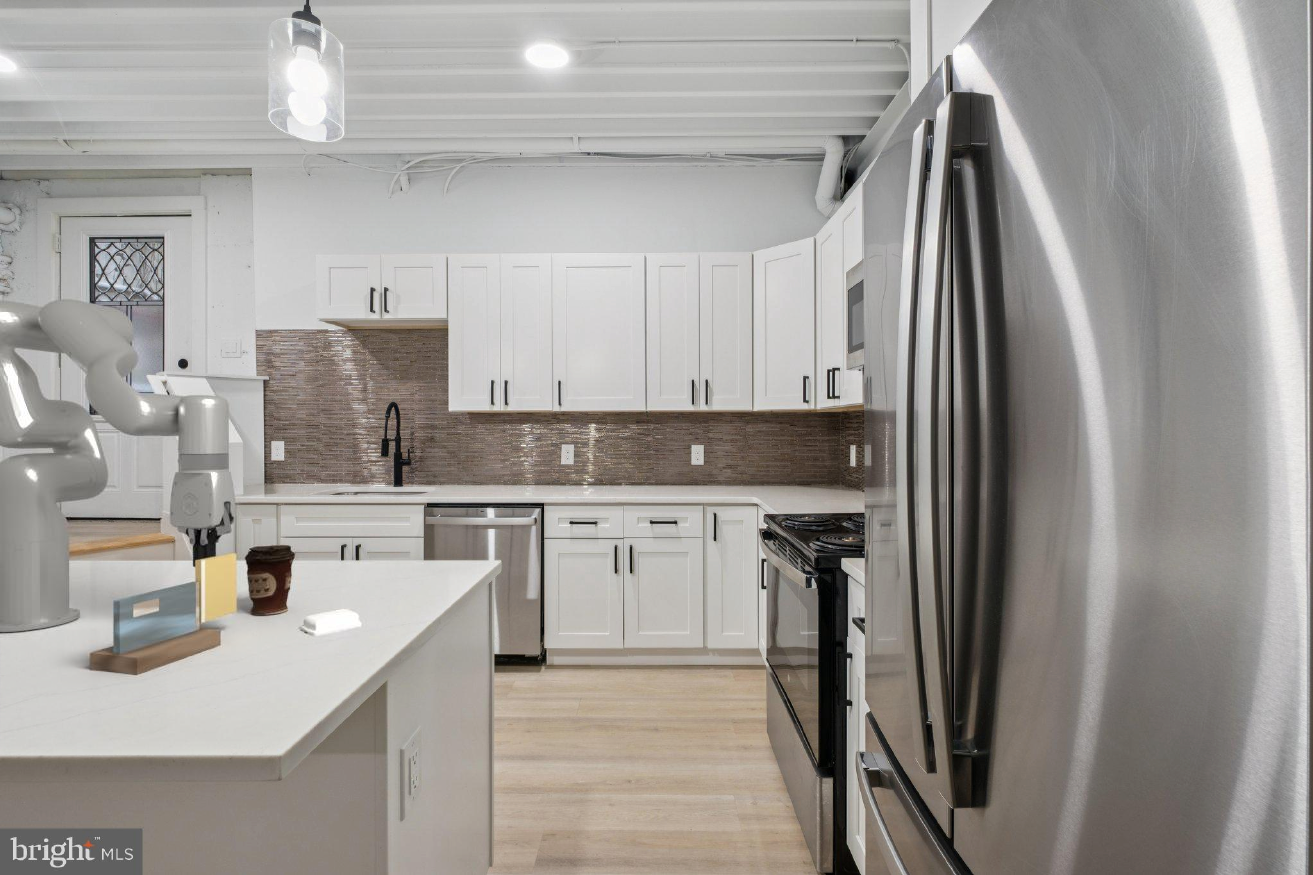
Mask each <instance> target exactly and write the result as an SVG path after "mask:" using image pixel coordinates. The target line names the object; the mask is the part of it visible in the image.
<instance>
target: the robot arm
mask: <svg viewBox="0 0 1313 875" xmlns="http://www.w3.org/2000/svg"><path fill="white" fill-rule="evenodd" d="M134 337H135V327H134V324H133V323H132V321H131V319H130V318H129V317H128V316H127V314H125V313H124V312H123V311H121V310H119V309H118V308H114V307H111V306H106V305H103V304H102V305H101V304H97V303H91V302H87V301H82V300H76V299H67V298H65V299H64V298H63V299H56V300H54V301H52V300H51V301H50V302H47V303H46V304H44V305H43V306H38V305H33V304H29V303H28V304H27V303H24V302H23V303H22V302H17V301H12V300H5V299H0V446H1V447H3V448H6V449H7V448H8V449H18V450H20V449H21V450H22V449H27V450H29V449H52V452H42V453H41V452H35V453H34V452H33V453H21V454H17V455H12V456H10V457H7V458H5V459H2V460H1V461H0V633H13V632H24V631H32V630H39V629H40V630H41V629H45V628H51V627H56V626H59V625H64V624H67V623H71V622H72V621H73V622H74V621H75V620H77V619H78V618H80V617H81V610H80V609H77V608H74V607H70V529H69V523H68V520H67V518H66V516H65V514H64V513H63V511H62V510H61V509H60V507H59V506H58V504H57V503H67V502H74V501H75V502H76V501H82V500H88V499H92V498H95V497H98V496H99V495H100V494H102V492H104V491H105V489H106V487H107V485H108V481H109V470H108V465H107V460H106V457H105V455H104V451H103V447H102V446H103V445H102V442H101V440H100V436H99V433H98V429H97V426H96V424H95V421H94V418H93V416H92V415H91V414H90V413H89V412H90V411H88V410H87V409H86V408H85V407H83V405H81V404H78V403H76V402H75V401H68V400H62V399H48V398H46V397H45V396H44V394H43V393H42V389H41V387H40V383H39V379H38V376H37V374H36V372H35V371H34V369H33V368H32V367H31V366H30V364H29V363H28V362H27V361H26V360H25V359H24V358H22V356H20V355H19V354H18V353H17V352H16V350H15V349H23V350H31V351H38V352H39V351H40V352H46V353H53V354H54V353H56V354H58V353H59V354H66V356H67V357H68V358H69V359H70V360H72V362H73V363H75V364H76V365H77V366H78V367H79V369H81V370H82V371H83V372H84V374H85V379H84V389H85V394H86V398H87V401H88V403H89V404H90V406H91V407H92V409H94V410H95V412H96V413H97V414H99V416H100V417H102V418H103V419H104V421H106V423H107V424H109V425H110V426H111V427H113V428H114V429H115V430H117V431H119V432H121V433H123V434H125V435H127V436H135V437H136V436H137V437H158V436H159V437H177V438H178V439H177V442H178V447H177V450H178V451H177V452H178V456H177V457H178V459H177V463H178V468H177V469H178V471H177V472H175V474H174V477H173V482H172V485H171V493H170V502H169V503H170V505H169V523H170V525H171V526H172V527H174V528H177V531H178V532H179V533H181V534H184V535H186V536H187V537H188V538H189V540H188V542H189V544H190V545H191V546H192V567H193V568H195V560H200V559H205V558H210V557H215V556H217V543H219V542H220V538H221V537H222V536H224V535H227V534H230V533H232V525H233V524H234V522H235V520H236V518H235V517H236V500H235V499H236V498H235V489H234V488H235V487H234V482H233V476H232V472H231V471H230V435H229V434H230V415H229V414H230V412H229V411H230V410H229V409H230V408H229V405H230V404H229V402H228V400H227V398H225V397H223V396H219V395H218V396H217V395H205V394H204V395H203V394H198V395H197V394H191V395H190V394H189V395H173V394H163V393H161V394H160V393H147V392H139V391H138V390H136V389H135V388H134V387H133V386H132V385H130V384H129V383H128V382H127V381H126V380H125V377H127V376H128V375H129V374H130V373H132V371H134V369H135V368H136V367H137V364H138V362H139V355H138V352H137V350H136V349H135V348H134V347H133V346H132V345H131V343H132V342H133V340H134V339H135V338H134Z"/></svg>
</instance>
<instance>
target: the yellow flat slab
mask: <svg viewBox="0 0 1313 875" xmlns="http://www.w3.org/2000/svg"><path fill="white" fill-rule="evenodd" d="M237 564H238V563H237V553H234V552H232V553H231V552H230V553H226V554H221V555H216V556H215V557H210V558H205V559H200V560H195V567H194V570H195V571H194V573H195V574H194V575H195V580H194V582H199V624H203V623H205V622H208V621H211V620H216V619H217V618H222V617H225V616H228V615H231V614H234V613H237V610H238V608H237V599H238V598H237V596H238V595H237V586H238V584H237V582H238V581H237V574H238V572H237Z"/></svg>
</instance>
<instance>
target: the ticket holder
mask: <svg viewBox="0 0 1313 875" xmlns="http://www.w3.org/2000/svg"><path fill="white" fill-rule="evenodd" d="M112 606H113V608H112V609H113V610H112V612H113V614H112V616H113V619H112V620H113V621H112V622H113V623H112V624H113V625H112V626H113V634H112V635H113V645H112V646H108V647H104V648H102V649H98V650H95V651H91V652H89V671H90V670H92V671H101V672H109V673H118V674H126V675H134V676H135V675H140V674H143V673H146V672H150V671H151V670H155V669H157V668H160V667H164V666H166V665H169V664H172V663H174V662H177V661H180V660H183V659H186V658H188V657H191V656H195V655H197V654H200V653H202V652H206V651H207V650H210V649H213V648H216V647H219V646H221V642H222V641H221V635H222V634H221V630H220V629H211V628H210V629H209V628H208V629H207V628H200V623H199V582H195V581H190V582H186V583H182V584H178V585H174V586H170V587H165V588H162V589H157V590H152V591H148V592H145V593H144V592H143V593H140V594H136V595H132V596H127V597H122V598H118V599H114V600H113V603H112Z"/></svg>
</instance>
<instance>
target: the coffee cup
mask: <svg viewBox="0 0 1313 875" xmlns="http://www.w3.org/2000/svg"><path fill="white" fill-rule="evenodd" d="M291 548H292V546H291V545H289V544H288V545H287V544H279V545H273V544H272V545H265V546H263V545H262V546H258V545H257V546H253V547H249V548H248V552H247V554H246V555H245V556H244V560H245V563H246V564H245V565H246V567H247V571H246V575H247V577H246V578H247V585H248V596H249V598H250V601H251V602H252V607H251V610H250V613H251V614H252V615H257V616H258V615H259V616H260V615H261V616H262V615H263V616H264V615H267V616H268V615H277V614H282V613H285V612H288V611H289V607H288V605H287V602H288V598H289V592H290V590H291V583H292V577H293V574H292V565H293V562H294V559H295V557H296V552H294V551H292V549H291Z"/></svg>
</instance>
